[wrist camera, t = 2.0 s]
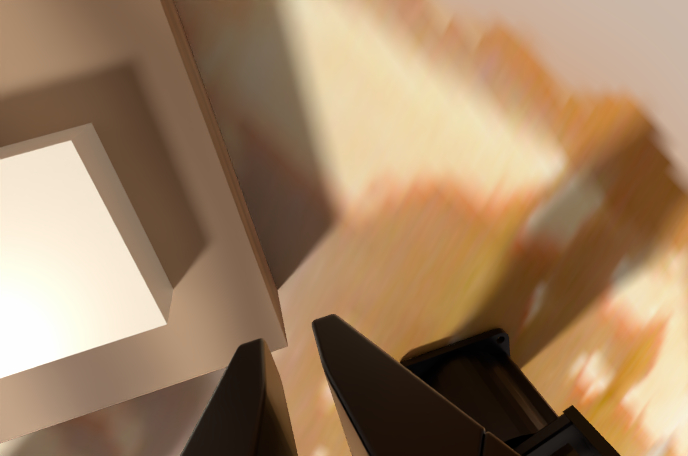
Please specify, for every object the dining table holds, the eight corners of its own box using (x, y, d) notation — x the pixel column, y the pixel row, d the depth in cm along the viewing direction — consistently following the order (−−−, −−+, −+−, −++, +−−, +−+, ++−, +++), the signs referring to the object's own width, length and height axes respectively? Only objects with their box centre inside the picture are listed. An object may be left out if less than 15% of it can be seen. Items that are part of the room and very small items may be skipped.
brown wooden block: (156, -47, 15) (136, -63, 12) (277, 291, 22) (288, 346, 18) (-314, 63, 14) (-501, 82, 10) (-31, 390, 20) (-84, 471, 17)
